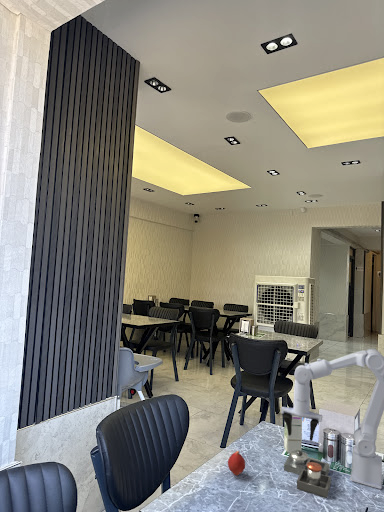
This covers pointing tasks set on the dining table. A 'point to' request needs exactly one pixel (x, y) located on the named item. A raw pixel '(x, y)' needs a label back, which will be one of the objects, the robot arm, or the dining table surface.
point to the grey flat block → (303, 463)
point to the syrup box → (293, 435)
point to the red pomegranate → (236, 463)
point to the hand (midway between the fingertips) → (300, 437)
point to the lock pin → (314, 473)
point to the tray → (316, 490)
